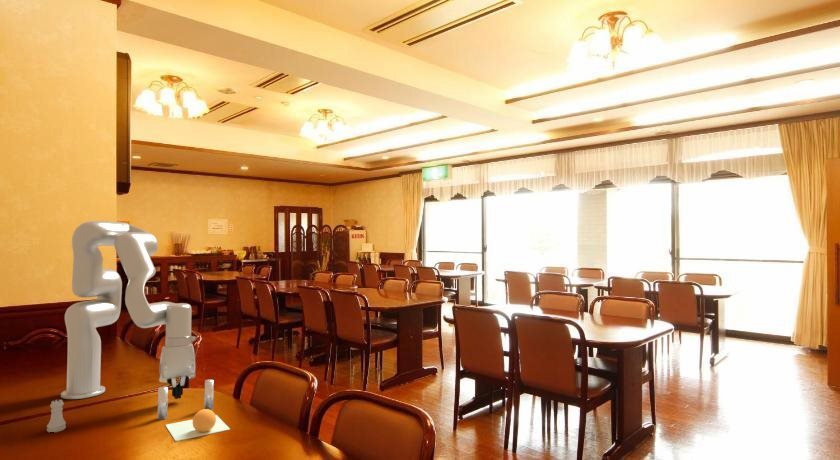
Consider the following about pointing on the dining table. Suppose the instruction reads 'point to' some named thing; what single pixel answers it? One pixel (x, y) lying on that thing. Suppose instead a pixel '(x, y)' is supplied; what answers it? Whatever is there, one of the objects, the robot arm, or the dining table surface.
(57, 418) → the rook chess piece
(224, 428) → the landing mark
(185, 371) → the robot arm
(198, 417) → the ball
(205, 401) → the post
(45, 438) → the dining table surface
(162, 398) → the post
